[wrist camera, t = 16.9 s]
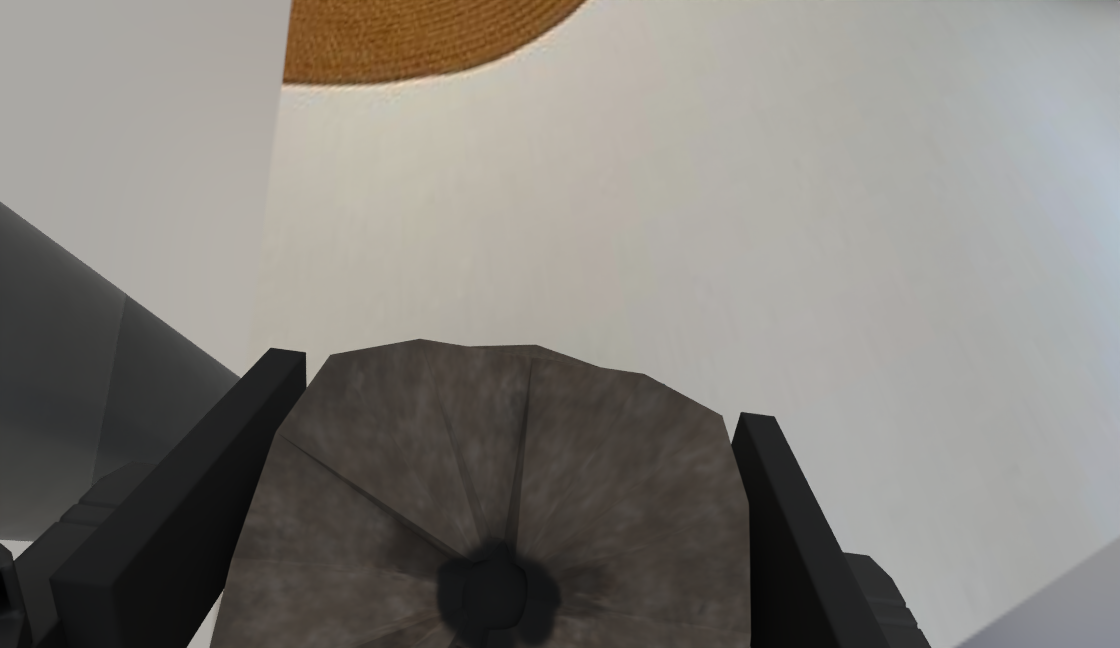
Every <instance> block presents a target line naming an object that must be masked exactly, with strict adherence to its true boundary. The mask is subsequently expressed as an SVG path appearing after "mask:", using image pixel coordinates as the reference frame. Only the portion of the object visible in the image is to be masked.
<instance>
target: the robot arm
mask: <svg viewBox="0 0 1120 648" xmlns="http://www.w3.org/2000/svg"><path fill="white" fill-rule="evenodd" d="M305 390H306V352H298V351H291V350H284V349H276V348H270V349H269V350H268V351H267V352H266V353H265V354H264V355H263V356H262V357H261V358H260V359H259V360H258V361H257V362H256V364H255V365H254V366H253V367H252V368H251V369H250V370H249V371H248V372H247V373H246V374H245V375H244V376H243V377H242V378H241V379H240V380H239V381H238V382H237V383H236V384H235V385H234V386H233V387H232V388H231V389H230V391H229V392H228V393H227V394H226V395H225V396H224V397H223V398H222V399H221V400H220V401H219V402H218V403H217V404H216V405H215V406H214V407H213V408H212V409H211V410H210V411H209V412H208V413H207V414H206V415H205V417H204V418H203V419H202V420H201V421H200V422H199V423H198V424H197V425H196V426H195V427H194V428H193V429H192V430H191V431H190V432H189V433H188V434H187V435H186V436H185V437H184V438H183V439H182V440H181V441H180V443H179V444H178V445H177V446H176V447H175V448H174V449H173V450H172V451H171V452H170V453H169V454H168V455H167V456H166V457H165V458H164V459H163V460H162V461H161V462H160V463H159V464H158V465H153V464H145V463H137V462H131V463H129V464H127V465H125V466H124V467H122V468H120V469H118V470H116V471H114V472H112V473H111V474H109V475H107V476H105V477H103V478H101V479H100V480H99V481H98V482H97V483H96V484H95V485H94V486H93V487H92V488H91V489H90V490H88V491H87V492H86V493H85V494H84V495H83V496H82V497H81V498H80V499H79V502H78V504H74V505H73V506H72V507H70V508H69V509H68V510H67V511H66V512H65V513H64V514H63V515H62V516H61V517H60V521H59V522H55V523H54V524H52V525H51V526H50V527H49V528H48V529H47V530H46V531H45V532H44V533H43V534H42V535H41V536H40V537H39V538H38V539H37V540H36V541H34V542H33V543H32V544H31V545H30V546H29V547H28V548H27V549H26V550H25V551H24V552H23V553H22V554H21V555H20V556H19V557H18V558H16V559H15V560H13V556H12V553H11V551H9V550H8V549H7V548H6V547H4V546H3V545H2V544H1V543H0V648H187V646H188V644H189V643H190V641H191V640H192V638H193V637H194V635H195V633H196V632H197V630H198V629H199V627H200V626H201V624H202V622H203V621H204V619H205V618H206V616H207V614H208V613H209V611H210V610H211V608H212V607H213V605H214V603H215V602H216V600H217V599H218V597H219V595H220V594H221V592H222V591H223V589H224V588H225V584H226V580H227V576H228V572H229V568H230V564H231V560H232V557H233V554H234V551H235V548H236V545H237V542H238V539H239V536H240V534H241V531H242V528H243V525H244V522H245V519H246V516H247V513H248V510H249V508H250V505H251V502H252V499H253V496H254V493H255V490H256V487H257V484H258V482H259V479H260V476H261V473H262V470H263V467H264V464H265V461H266V459H267V456H268V453H269V450H270V447H271V444H272V441H273V438H274V435H275V433H276V431H277V429H278V428H279V427H280V425H281V424H282V422H283V421H284V420H285V418H286V417H287V415H288V414H289V412H290V411H291V410H292V408H293V407H294V405H295V404H296V403H297V401H298V400H299V398H300V397H301V396H302V394H303V393H304V391H305ZM731 446H732V450H733V453H734V456H735V459H736V463H737V466H738V469H739V473H740V476H741V479H742V482H743V486H744V489H745V492H746V496H747V499H748V502H749V536H750V602H751V640H750V648H931V646H930V645H929V643H928V641H927V639H926V638H925V636H924V634H923V632H922V631H921V629H918V627H917V622H916V620H915V618H914V617H913V615H912V613H911V611H910V610H909V608H906V602H905V601H904V599H903V597H902V595H901V594H900V592H899V590H898V588H897V587H896V585H895V583H894V581H893V580H892V578H891V577H890V576H889V575H888V574H887V573H886V572H885V571H884V570H883V569H882V568H881V567H880V566H879V565H878V564H877V563H876V562H875V561H874V560H873V559H872V558H871V557H870V556H867V555H860V554H852V553H844V552H842V550H841V548H840V546H839V544H838V542H837V540H836V538H835V536H834V534H833V532H832V530H831V528H830V526H829V524H828V522H827V520H826V518H825V516H824V514H823V512H822V510H821V508H820V506H819V504H818V502H817V500H816V498H815V496H814V494H813V492H812V490H811V488H810V486H809V484H808V482H807V480H806V478H805V476H804V474H803V472H802V470H801V468H800V466H799V464H798V462H797V460H796V458H795V456H794V454H793V452H792V450H791V448H790V446H789V444H788V443H787V441H786V439H785V437H784V435H783V433H782V431H781V429H780V427H779V425H778V423H777V421H776V419H775V417H774V416H767V415H759V414H752V413H745V412H741V414H740V417H739V420H738V424H737V427H736V430H735V434H734V437H733V441H732V444H731Z"/></svg>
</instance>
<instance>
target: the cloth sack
mask: <svg viewBox="0 0 1120 648" xmlns="http://www.w3.org/2000/svg"><path fill="white" fill-rule="evenodd" d="M750 640H751V602H750V536H749V502H748V499H747V496H746V492H745V489H744V486H743V482H742V479H741V476H740V473H739V469H738V466H737V463H736V459H735V456H734V453H733V450H732V446H731V443H730V440H729V436H728V433H727V430H726V427H725V423H724V420H723V417H722V415H720V414H718V413H716V412H714V411H712V410H710V409H709V408H707V407H705V406H703V405H701V404H699V403H697V402H695V401H694V400H692V399H690V398H688V397H686V396H684V395H682V394H681V393H679V392H677V391H675V390H673V389H671V388H669V387H667V386H666V385H664V384H662V383H660V382H658V381H656V380H654V379H653V378H651V377H649V376H647V375H645V374H641V373H634V372H627V371H621V370H614V369H607V368H601V367H598V366H595V365H592V364H589V363H586V362H583V361H581V360H578V359H575V358H572V357H569V356H566V355H564V354H561V353H558V352H555V351H552V350H549V349H547V348H544V347H541V346H538V345H508V346H471V347H467V346H461V345H455V344H448V343H442V342H436V341H430V340H424V339H417V340H411V341H405V342H400V343H394V344H389V345H383V346H377V347H372V348H366V349H361V350H355V351H349V352H344V353H338V354H333V355H330V356H329V358H328V359H327V360H326V362H325V363H324V365H323V366H322V367H321V369H320V370H319V372H318V373H317V374H316V376H315V377H314V379H313V380H312V382H311V383H310V384H309V386H308V387H307V389H306V390H305V391H304V393H303V394H302V396H301V397H300V398H299V400H298V401H297V403H296V404H295V405H294V407H293V408H292V410H291V411H290V412H289V414H288V415H287V417H286V418H285V420H284V421H283V422H282V424H281V425H280V427H279V428H278V429H277V431H276V433H275V435H274V438H273V441H272V444H271V447H270V450H269V453H268V456H267V459H266V461H265V464H264V467H263V470H262V473H261V476H260V479H259V482H258V484H257V487H256V490H255V493H254V496H253V499H252V502H251V505H250V508H249V510H248V513H247V516H246V519H245V522H244V525H243V528H242V531H241V534H240V536H239V539H238V542H237V545H236V548H235V551H234V554H233V557H232V560H231V564H230V568H229V572H228V576H227V580H226V584H225V588H224V592H223V596H222V600H221V604H220V608H219V612H218V616H217V620H216V624H215V628H214V632H213V636H212V640H211V644H210V648H750Z"/></svg>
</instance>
